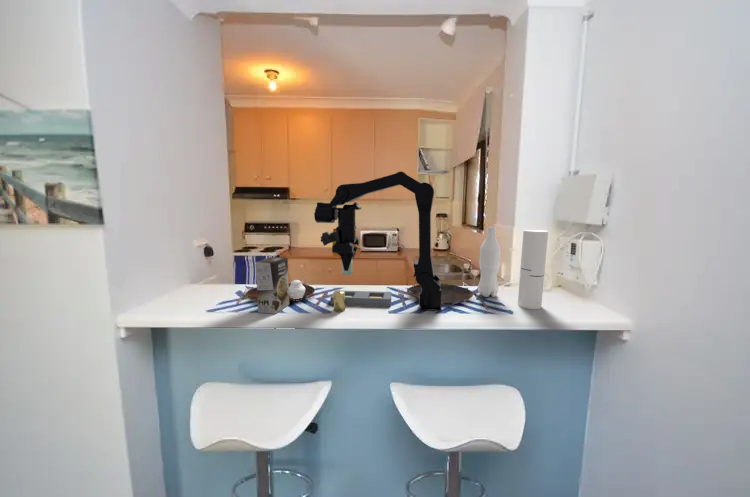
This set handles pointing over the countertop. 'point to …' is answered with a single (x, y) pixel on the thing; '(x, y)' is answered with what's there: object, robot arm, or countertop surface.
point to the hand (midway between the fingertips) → (347, 269)
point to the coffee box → (272, 284)
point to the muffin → (296, 289)
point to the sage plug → (348, 270)
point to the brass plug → (339, 301)
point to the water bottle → (489, 264)
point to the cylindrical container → (532, 268)
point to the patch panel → (365, 298)
